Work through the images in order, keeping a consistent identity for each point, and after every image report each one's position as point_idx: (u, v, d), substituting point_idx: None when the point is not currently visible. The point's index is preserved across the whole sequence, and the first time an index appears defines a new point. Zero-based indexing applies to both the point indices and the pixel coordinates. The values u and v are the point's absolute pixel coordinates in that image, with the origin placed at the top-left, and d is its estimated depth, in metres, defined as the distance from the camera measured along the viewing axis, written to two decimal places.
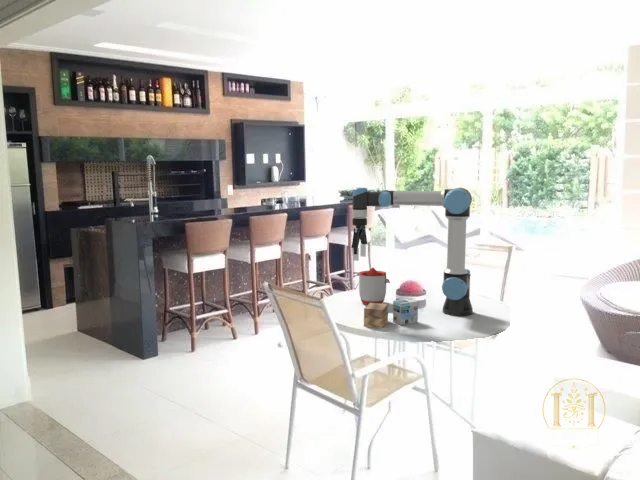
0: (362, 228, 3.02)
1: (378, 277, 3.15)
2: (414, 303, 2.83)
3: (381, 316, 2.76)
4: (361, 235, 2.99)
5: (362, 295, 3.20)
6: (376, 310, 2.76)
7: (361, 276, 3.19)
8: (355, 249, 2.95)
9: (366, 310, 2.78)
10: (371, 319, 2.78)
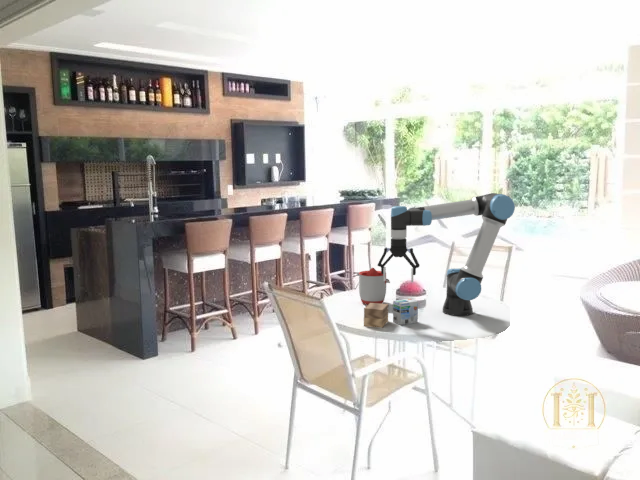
0: (400, 250, 2.83)
1: (378, 277, 3.15)
2: (414, 303, 2.83)
3: (381, 316, 2.76)
4: (392, 256, 2.84)
5: (362, 295, 3.20)
6: (376, 310, 2.76)
7: (361, 276, 3.19)
8: (381, 268, 2.88)
9: (366, 310, 2.78)
10: (371, 319, 2.77)
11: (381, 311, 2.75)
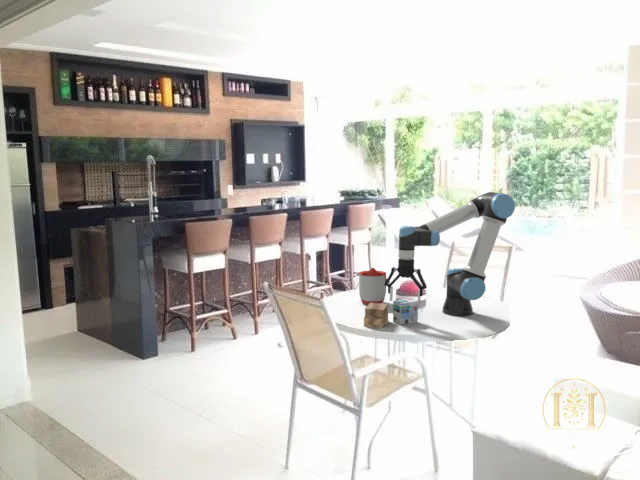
0: (407, 270, 2.81)
1: (378, 277, 3.15)
2: (414, 303, 2.83)
3: (382, 316, 2.76)
4: (399, 276, 2.82)
5: (362, 295, 3.20)
6: (377, 310, 2.76)
7: (361, 276, 3.19)
8: (388, 288, 2.86)
9: (367, 310, 2.77)
10: (371, 319, 2.77)
11: (382, 311, 2.75)
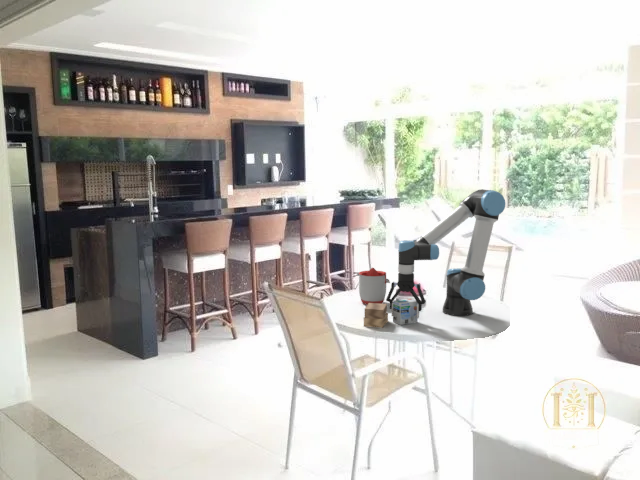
0: (408, 284, 2.82)
1: (378, 277, 3.15)
2: (414, 303, 2.83)
3: (382, 316, 2.76)
4: None
5: (362, 295, 3.20)
6: (376, 310, 2.76)
7: (361, 276, 3.19)
8: (390, 303, 2.87)
9: (367, 310, 2.77)
10: (371, 319, 2.77)
11: (382, 311, 2.75)
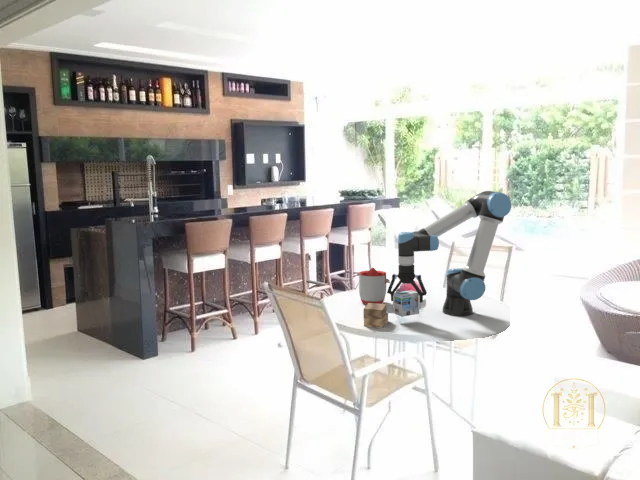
0: (408, 276, 2.81)
1: (378, 277, 3.15)
2: (415, 294, 2.83)
3: (381, 316, 2.76)
4: None
5: (362, 295, 3.20)
6: (375, 310, 2.76)
7: (361, 276, 3.19)
8: None
9: (366, 310, 2.77)
10: (371, 319, 2.77)
11: (381, 311, 2.75)
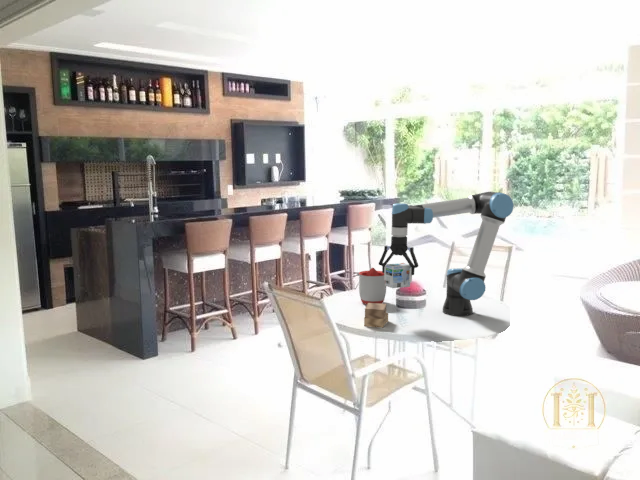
0: (401, 248, 2.79)
1: (378, 277, 3.15)
2: (407, 267, 2.80)
3: (382, 316, 2.76)
4: (393, 254, 2.80)
5: (362, 295, 3.20)
6: (377, 310, 2.76)
7: (361, 276, 3.19)
8: None
9: (367, 310, 2.77)
10: (372, 319, 2.78)
11: (382, 311, 2.76)
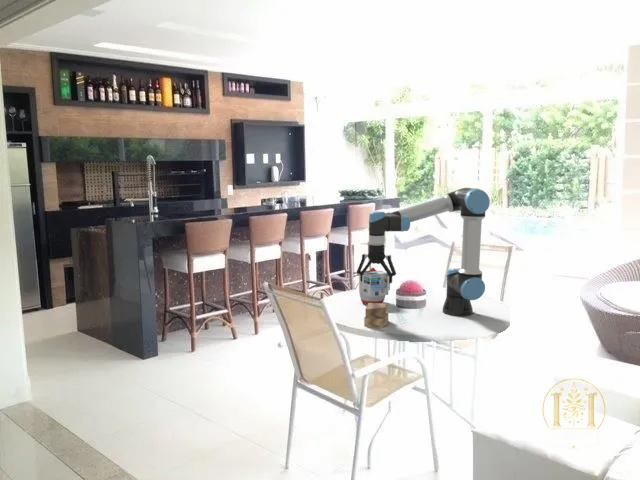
0: (378, 256, 2.78)
1: None
2: (385, 275, 2.79)
3: (383, 316, 2.76)
4: (370, 263, 2.79)
5: (362, 295, 3.20)
6: (378, 310, 2.76)
7: None
8: None
9: (368, 310, 2.77)
10: (372, 319, 2.78)
11: (383, 311, 2.76)
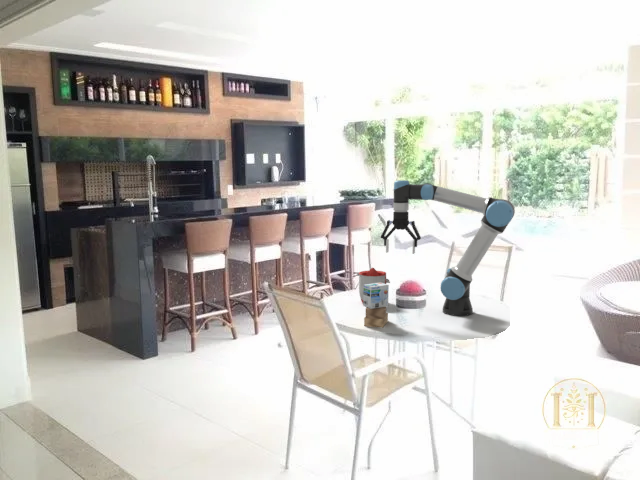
0: (402, 222, 2.94)
1: (378, 277, 3.15)
2: (384, 287, 2.80)
3: (383, 316, 2.76)
4: (394, 228, 2.95)
5: (362, 295, 3.20)
6: (378, 310, 2.76)
7: (361, 276, 3.19)
8: None
9: (368, 310, 2.77)
10: (372, 319, 2.78)
11: (383, 311, 2.76)
